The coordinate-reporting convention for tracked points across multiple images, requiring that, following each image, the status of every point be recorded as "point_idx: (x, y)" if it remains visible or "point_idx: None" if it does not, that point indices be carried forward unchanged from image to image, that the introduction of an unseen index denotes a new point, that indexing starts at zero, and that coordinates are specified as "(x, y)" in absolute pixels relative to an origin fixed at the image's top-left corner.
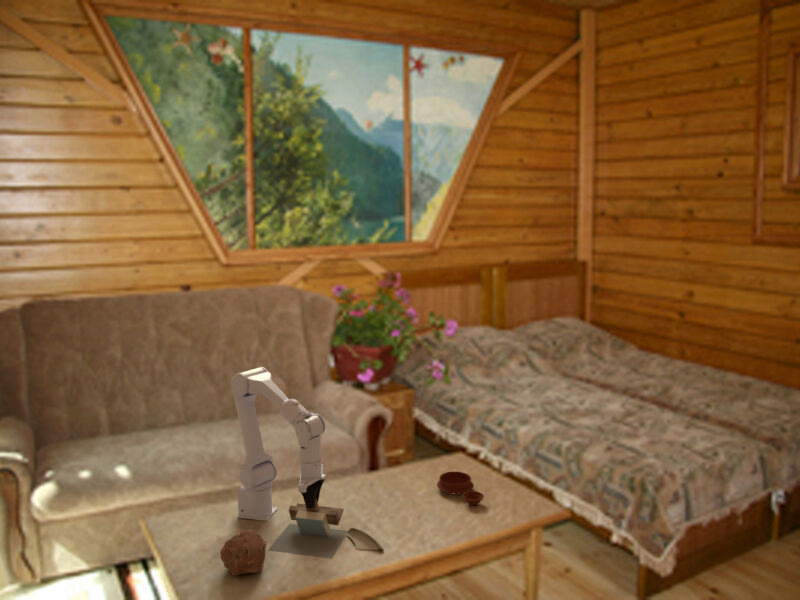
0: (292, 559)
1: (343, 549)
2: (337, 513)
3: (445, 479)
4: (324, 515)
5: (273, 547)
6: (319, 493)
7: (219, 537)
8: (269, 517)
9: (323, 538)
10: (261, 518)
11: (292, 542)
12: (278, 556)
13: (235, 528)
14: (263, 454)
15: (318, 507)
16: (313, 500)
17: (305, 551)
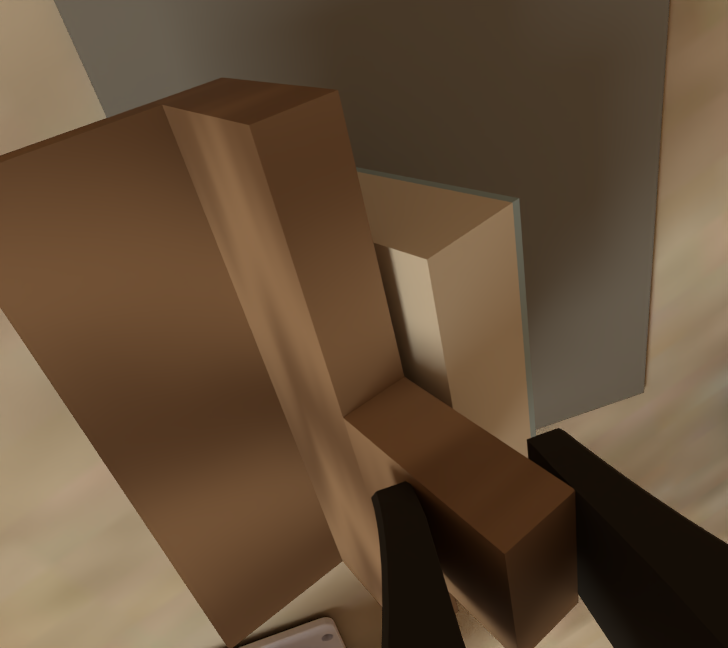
0: (719, 186)
1: None
2: (257, 110)
3: None
4: (453, 244)
5: (609, 388)
6: (404, 645)
7: (568, 627)
8: (292, 632)
9: (355, 163)
10: (335, 646)
11: None
12: (693, 294)
13: (467, 644)
14: None
15: (367, 430)
16: (703, 532)
17: (610, 165)
